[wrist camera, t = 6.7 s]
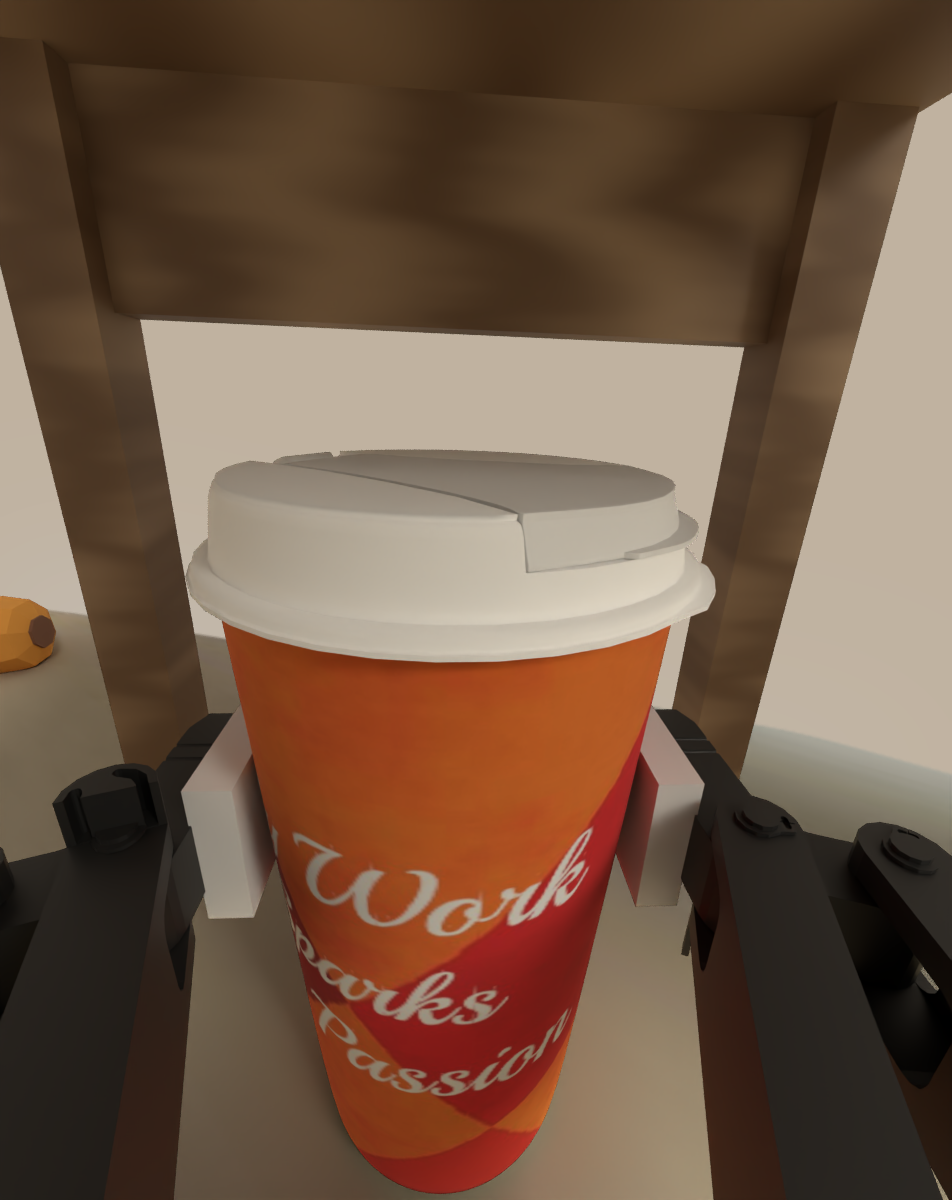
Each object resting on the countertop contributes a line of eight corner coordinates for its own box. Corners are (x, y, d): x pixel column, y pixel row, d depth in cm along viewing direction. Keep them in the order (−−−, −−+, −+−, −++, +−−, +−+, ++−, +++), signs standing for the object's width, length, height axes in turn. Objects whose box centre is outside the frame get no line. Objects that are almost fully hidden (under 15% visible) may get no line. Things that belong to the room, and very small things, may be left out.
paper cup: (206, 1124, 11) (26, 472, 6) (404, 865, 18) (392, 440, 13) (544, 1420, 8) (716, 580, 3) (636, 975, 15) (742, 464, 10)
